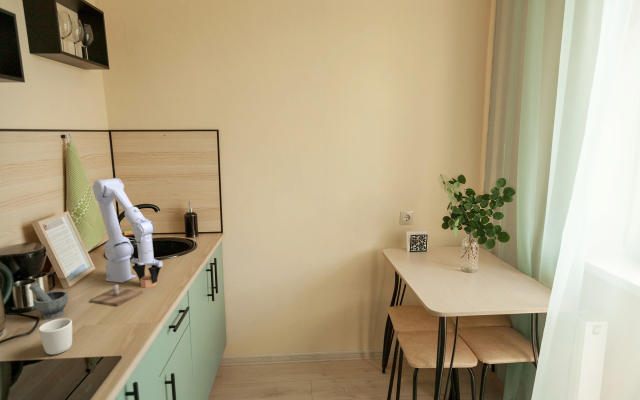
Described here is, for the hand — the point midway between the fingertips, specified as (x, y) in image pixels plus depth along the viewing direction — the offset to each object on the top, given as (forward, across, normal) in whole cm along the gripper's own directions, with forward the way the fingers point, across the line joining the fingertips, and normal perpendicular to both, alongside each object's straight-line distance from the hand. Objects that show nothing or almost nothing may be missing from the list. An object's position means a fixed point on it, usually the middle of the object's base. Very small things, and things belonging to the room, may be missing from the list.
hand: (148, 281), depth 157 cm
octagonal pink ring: (+1, 0, 0) cm, 1 cm away
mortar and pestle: (+2, -13, -32) cm, 35 cm away
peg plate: (+1, -2, -14) cm, 14 cm away
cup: (+2, +10, -46) cm, 47 cm away
